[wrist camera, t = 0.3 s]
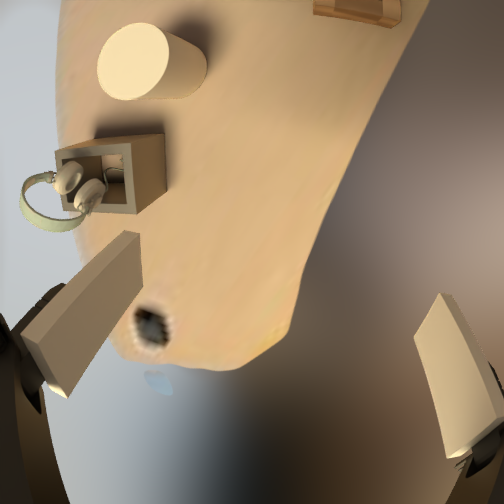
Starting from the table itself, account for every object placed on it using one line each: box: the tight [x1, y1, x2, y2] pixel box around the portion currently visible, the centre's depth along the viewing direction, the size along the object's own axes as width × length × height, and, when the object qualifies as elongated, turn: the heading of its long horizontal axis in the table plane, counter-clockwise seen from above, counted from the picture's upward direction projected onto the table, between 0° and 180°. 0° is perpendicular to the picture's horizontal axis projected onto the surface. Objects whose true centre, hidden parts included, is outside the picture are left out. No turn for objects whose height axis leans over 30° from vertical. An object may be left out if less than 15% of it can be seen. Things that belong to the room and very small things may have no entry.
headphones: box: [19, 159, 124, 232], centre depth 30 cm, size 8×4×20 cm, turn 53°
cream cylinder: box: [97, 23, 207, 100], centre depth 26 cm, size 8×8×12 cm
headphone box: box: [55, 133, 167, 214], centre depth 35 cm, size 8×12×9 cm
